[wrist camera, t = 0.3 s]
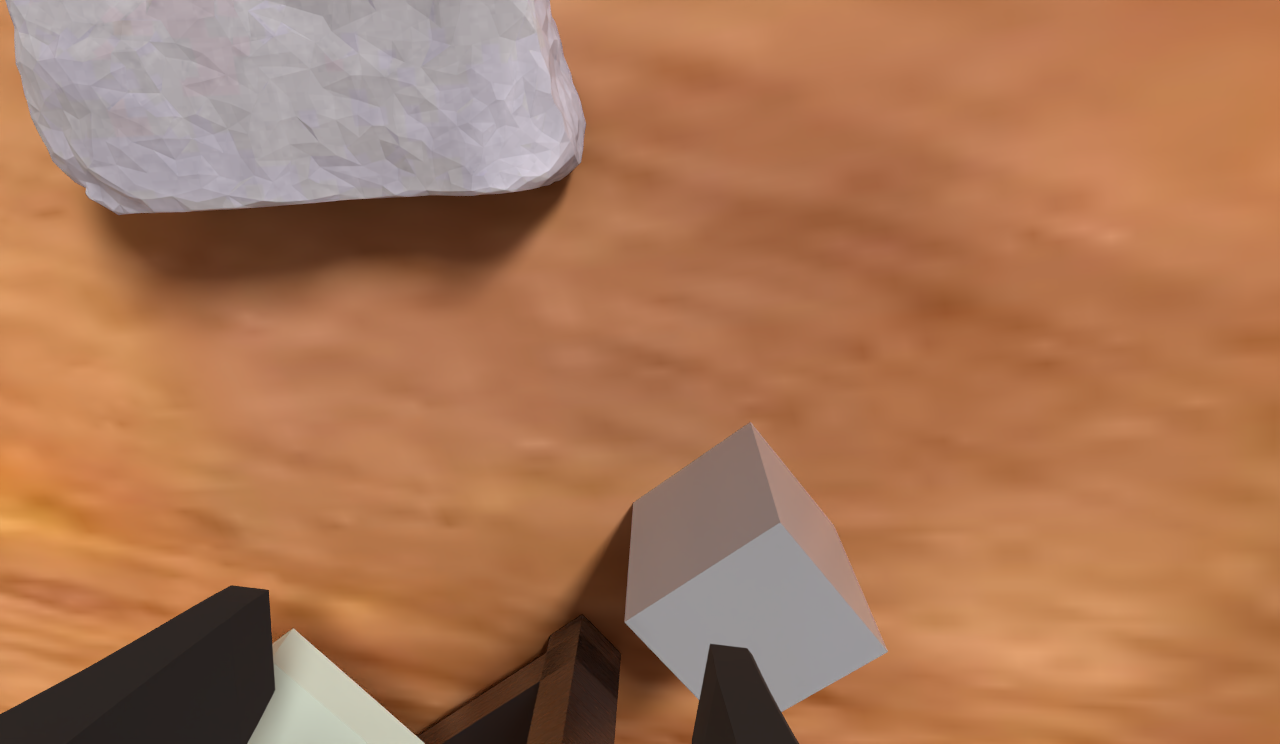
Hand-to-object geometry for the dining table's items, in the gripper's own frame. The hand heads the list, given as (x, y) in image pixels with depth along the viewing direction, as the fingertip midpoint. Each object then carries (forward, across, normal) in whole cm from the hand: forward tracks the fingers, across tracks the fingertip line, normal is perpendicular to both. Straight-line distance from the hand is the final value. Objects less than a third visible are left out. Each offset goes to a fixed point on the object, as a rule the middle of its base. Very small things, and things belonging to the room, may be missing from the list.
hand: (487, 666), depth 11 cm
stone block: (+10, +7, -11) cm, 16 cm away
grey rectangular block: (+10, -5, +2) cm, 12 cm away
